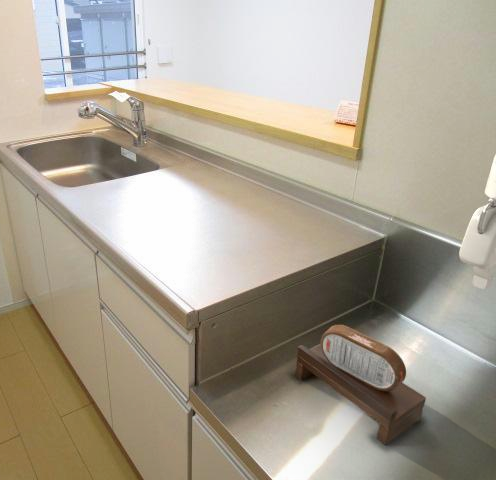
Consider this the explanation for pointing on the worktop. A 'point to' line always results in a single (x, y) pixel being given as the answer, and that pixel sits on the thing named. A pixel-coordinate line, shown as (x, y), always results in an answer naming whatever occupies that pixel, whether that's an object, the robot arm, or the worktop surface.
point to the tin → (363, 358)
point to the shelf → (365, 394)
